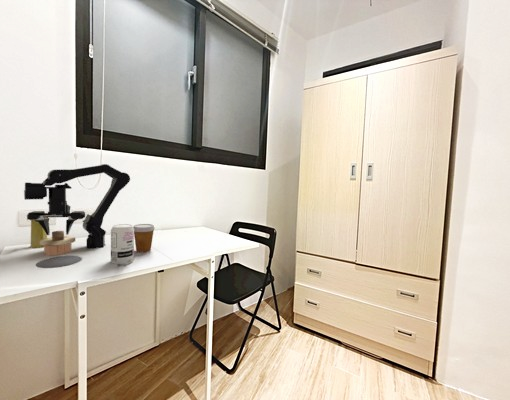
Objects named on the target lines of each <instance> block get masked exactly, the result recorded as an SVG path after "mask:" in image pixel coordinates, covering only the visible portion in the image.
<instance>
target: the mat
mask: <svg viewBox="0 0 510 400" xmlns="http://www.w3.org/2000/svg"><path fill="white" fill-rule="evenodd" d="M82 260H83V257H82V256H78V255H62V256H59V255H58V256H55V257H54V256H53V257H48V258H45V259H43V260H40V261H38V262H37V263H36V264H35V267H36V268H40V269H55V268H57V269H58V268H63V267H68V266H71V265H72V266H73V265H75V264H78V263H80V262H81V261H82Z"/></svg>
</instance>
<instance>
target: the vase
mask: <svg viewBox="0 0 510 400" xmlns="http://www.w3.org/2000/svg"><path fill="white" fill-rule="evenodd" d="M46 238H48V235H47V234H46V232H45V231H44V229H43V227H42V226H41V225H40V224H39V222H35V220H30V247H29V248H30V249H42V248H43V249H44V246H43V245H40V241H41V240H43V239H46Z"/></svg>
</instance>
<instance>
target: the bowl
mask: <svg viewBox="0 0 510 400" xmlns="http://www.w3.org/2000/svg"><path fill="white" fill-rule="evenodd" d="M72 247H73V246H72V243H69V244H64V245H56V246H44V247H43V253H44V255H47V256H55V255H57V256H59V255H63V254H67V253H70V252H71V251H72V250H73V249H72Z"/></svg>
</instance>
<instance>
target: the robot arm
mask: <svg viewBox="0 0 510 400" xmlns="http://www.w3.org/2000/svg"><path fill="white" fill-rule="evenodd" d="M99 174H105V175H106V176H108V177H110V178H112V179H111V183H110V187H109V188H108V190H107V192H106V193H105V194H104V197H102V199H101V200H100V202H99V204H98V206H97V207H96V209H95V210H94V212H93V213H91V215H90V214H88V213H87V214H86V212H85V211H83V210H78V211H77V210H73V211H71V205H69V204H68V202H67V189H69V190H70V189H72V186H70V185H69V183H67V182H69V181H71V180H75V179H76V178H83V177H87V176H95V175H99ZM130 181H131V178H130V175H129V174H128V173H127V172H122V171H120V170H118V169H116V168H114V167H112V166H111V165H109V164H107V163H106V164H105V163H104V164H99V165H94V166H86V167H81V168H75V169H74V168H73V169H51V170H50V171H49V172H48V173H47V177H46V178H45V179H44V180H43V181H42V182H39V183H38V182H36V183H35V182H24V190H23V196H24V200H44V198H47V197H48V201H47V205H48V211H47V212H45V211H44V210H39V211H38V210H37V211H36V210H33V211H30V212H28V213H27V215H26V219H27V220H28V221H29V220H30V221H31V220H35V222H39V224H40V225H41V226H42V227H43V229H44V231H45V232H46V234H47V236H49V235H51V232H50V230H51V229H50V218H68V219H66V220H65V221H66V223H65V224H66V225H65V234H66V236H68V235H70V232H71V229H72V226H73V224H74V222H75V221H77V220H82V222H83V223H82V229H84V230H85V231H86V232H87V233H88V235H87V238H86V249H103V248H104V247H106V244H105V243H106V241H105V239H106V238H105V237H106V236H105V235H106V234H107V232H106V230H104V228H102V225H103V222H104V218H105V215H106V213H107V212H108V210H109V209H110V207H111V206H112V204H113V203H114V201H115V199H116V197H118V194H119V193H120V191H121V190H122V189H124V188H125V187H126V186H127V185H128V184H129V183H130ZM63 183H64V184H63ZM53 185H54V186H53Z"/></svg>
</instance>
